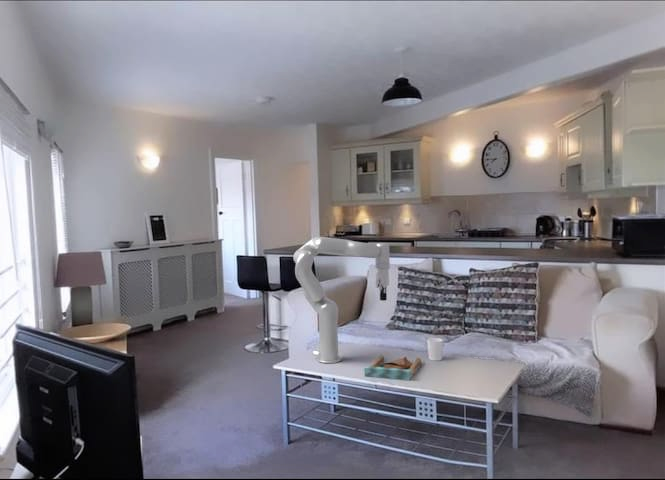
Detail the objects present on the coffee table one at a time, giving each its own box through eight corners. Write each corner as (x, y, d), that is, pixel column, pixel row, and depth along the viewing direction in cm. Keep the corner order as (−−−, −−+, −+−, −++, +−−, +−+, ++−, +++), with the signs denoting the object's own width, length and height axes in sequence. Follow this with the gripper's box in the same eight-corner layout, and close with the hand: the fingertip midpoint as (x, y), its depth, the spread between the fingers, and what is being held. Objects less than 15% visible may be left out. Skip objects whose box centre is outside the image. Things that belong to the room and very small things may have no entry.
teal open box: (364, 376, 228) (364, 367, 228) (380, 360, 253) (380, 352, 253) (409, 380, 220) (409, 371, 220) (421, 363, 245) (421, 355, 245)
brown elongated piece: (393, 374, 229) (388, 361, 231) (384, 379, 233) (378, 366, 236) (418, 366, 241) (412, 353, 243) (408, 370, 245) (403, 358, 248)
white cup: (443, 361, 247) (443, 341, 246) (427, 361, 248) (427, 341, 248) (443, 357, 255) (442, 337, 254) (427, 356, 256) (427, 337, 256)
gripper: (379, 264, 271) (380, 297, 272) (371, 267, 257) (372, 302, 258) (393, 264, 268) (393, 298, 269) (385, 267, 255) (386, 302, 255)
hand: (383, 300), depth 264 cm, fingers closed
